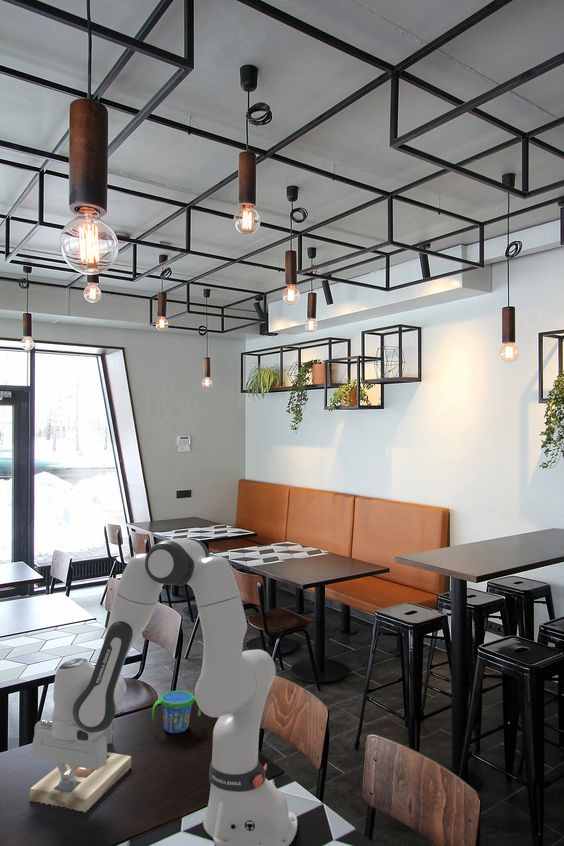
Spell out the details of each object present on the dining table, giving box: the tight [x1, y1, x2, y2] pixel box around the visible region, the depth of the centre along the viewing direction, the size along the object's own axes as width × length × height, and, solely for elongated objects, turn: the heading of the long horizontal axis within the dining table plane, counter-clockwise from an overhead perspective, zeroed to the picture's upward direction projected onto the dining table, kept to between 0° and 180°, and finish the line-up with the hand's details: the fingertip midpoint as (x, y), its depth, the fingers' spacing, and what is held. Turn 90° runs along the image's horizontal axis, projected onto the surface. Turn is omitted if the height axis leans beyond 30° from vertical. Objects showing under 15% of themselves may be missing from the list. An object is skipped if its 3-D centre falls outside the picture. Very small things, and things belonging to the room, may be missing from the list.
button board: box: [29, 751, 132, 813], centre depth 159 cm, size 16×22×3 cm
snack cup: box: [151, 690, 202, 734], centre depth 191 cm, size 16×10×10 cm
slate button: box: [59, 778, 76, 792], centre depth 152 cm, size 4×4×4 cm
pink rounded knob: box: [75, 767, 92, 778], centre depth 159 cm, size 4×4×4 cm
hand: (67, 779), depth 152 cm, fingers closed
